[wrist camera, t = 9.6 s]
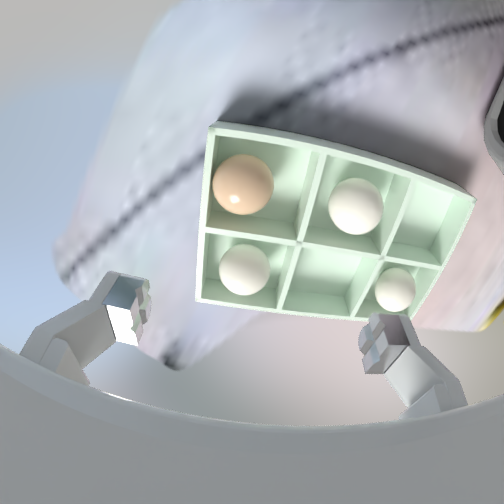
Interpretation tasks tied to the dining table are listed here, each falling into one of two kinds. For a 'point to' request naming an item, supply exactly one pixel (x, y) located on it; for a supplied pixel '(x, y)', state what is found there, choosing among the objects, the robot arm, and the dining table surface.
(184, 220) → the dining table surface
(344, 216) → the cream egg
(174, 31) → the dining table surface
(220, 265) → the cream egg
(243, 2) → the dining table surface
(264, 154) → the egg tray
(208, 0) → the dining table surface
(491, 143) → the alarm clock
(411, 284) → the cream egg
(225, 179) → the brown egg
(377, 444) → the robot arm
